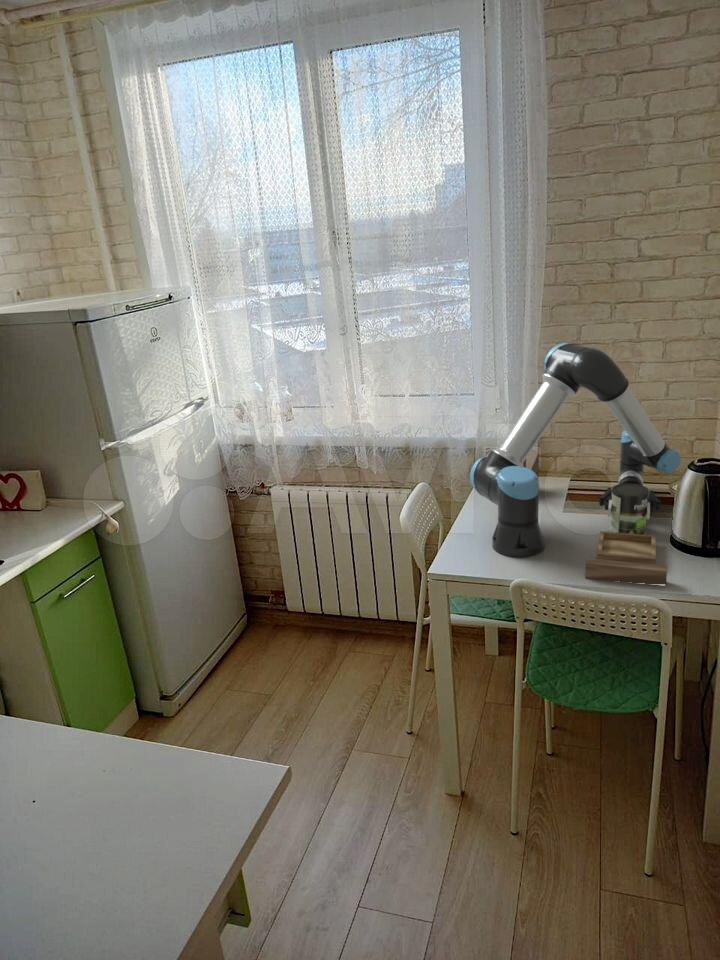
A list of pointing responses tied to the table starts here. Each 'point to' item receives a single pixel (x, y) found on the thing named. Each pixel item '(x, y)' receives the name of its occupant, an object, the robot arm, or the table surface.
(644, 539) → the brown wooden tray
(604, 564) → the block
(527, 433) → the robot arm
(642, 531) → the coffee can
